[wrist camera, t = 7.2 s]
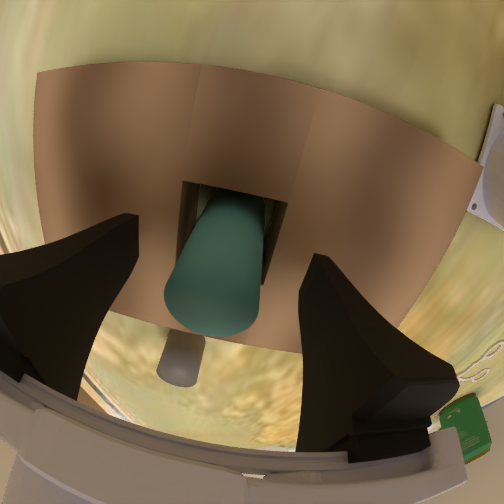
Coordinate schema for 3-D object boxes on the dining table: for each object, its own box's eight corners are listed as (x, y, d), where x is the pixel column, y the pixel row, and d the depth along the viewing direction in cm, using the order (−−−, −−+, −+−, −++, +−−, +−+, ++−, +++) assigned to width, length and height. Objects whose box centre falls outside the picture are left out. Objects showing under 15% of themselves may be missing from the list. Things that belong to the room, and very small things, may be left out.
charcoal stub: (207, 331, 22) (197, 371, 18) (204, 353, 23) (195, 390, 20) (169, 322, 21) (155, 360, 18) (169, 344, 23) (157, 380, 20)
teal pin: (277, 205, 15) (280, 305, 9) (240, 241, 17) (220, 347, 10) (233, 169, 14) (198, 245, 8) (198, 209, 16) (148, 303, 9)
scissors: (493, 372, 26) (381, 419, 30) (491, 368, 26) (380, 414, 31) (515, 331, 21) (384, 389, 25) (512, 327, 21) (382, 384, 26)
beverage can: (443, 418, 34) (455, 469, 24) (433, 412, 32) (446, 471, 22) (478, 397, 31) (494, 448, 21) (473, 388, 28) (492, 447, 18)
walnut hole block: (443, 147, 12) (483, 167, 9) (360, 319, 20) (371, 360, 16) (81, 70, 11) (37, 72, 8) (84, 259, 19) (57, 292, 15)
